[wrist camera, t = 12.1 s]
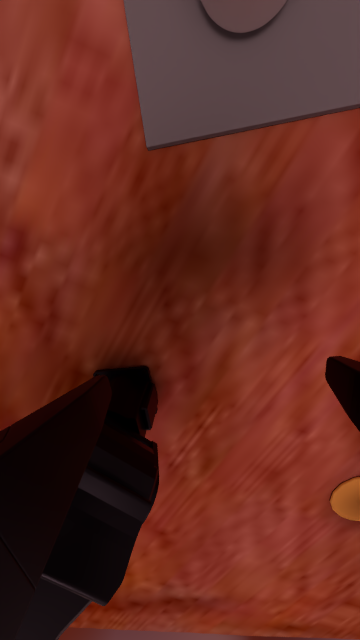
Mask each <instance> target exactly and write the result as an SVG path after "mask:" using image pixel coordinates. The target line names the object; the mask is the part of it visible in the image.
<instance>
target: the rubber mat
mask: <svg viewBox="0 0 360 640" xmlns="http://www.w3.org/2000/svg"><path fill="white" fill-rule="evenodd" d="M124 6H125V12H126V19H127V25H128V31H129V38H130V44H131V51H132V57H133V63H134V70H135V76H136V82H137V89H138V95H139V101H140V108H141V114H142V120H143V127H144V133H145V140H146V146H147V149H148V151H149V150H153V149H158V148H163V147H168V146H173V145H178V144H183V143H188V142H193V141H198V140H203V139H208V138H213V137H217V136H222V135H227V134H232V133H237V132H242V131H247V130H252V129H257V128H262V127H267V126H272V125H276V124H281V123H286V122H291V121H296V120H301V119H306V118H311V117H316V116H321V115H326V114H331V113H336V112H340V111H345V110H350V109H355V108H360V0H287V1H286V3H285V4H284V6H283V7H282V8H281V10H280V11H279V12H278V13H277V14H276V15H275V16H274V17H273V18H272V19H271V20H270V21H269V22H268V23H266V24H265V25H263V26H262V27H260V28H258V29H256V30H253V31H250V32H245V33H235V32H231V31H228V30H225V29H223V28H222V27H220V26H219V25H217V24H216V23H215V22H214V21H213V20H212V19H211V18H210V16H209V15H208V13H207V12H206V10H205V8H204V6H203V4H202V2H201V0H124Z"/></svg>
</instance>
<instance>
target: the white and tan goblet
mask: <svg viewBox="0 0 360 640" xmlns="http://www.w3.org/2000/svg"><path fill="white" fill-rule="evenodd" d="M330 503H331V507H332V509H333V510H334V511H335V512H336V513H337V514H338V515H339V516H341V517H344V518H346V519H349V520H353V521H360V477H354V478H352V479H350V480H347V481H345V482H343V483H341V484H340V485H339V486H338V487H337V488H336V489H335V490H334V491H333V493H332V495H331V498H330Z"/></svg>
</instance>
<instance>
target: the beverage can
mask: <svg viewBox="0 0 360 640" xmlns="http://www.w3.org/2000/svg"><path fill="white" fill-rule="evenodd" d="M286 1H287V0H201V2H202V4H203V6H204V8H205V10H206V12H207V13H208V15H209V16H210V18H211V19H212V20H213V21H214V22H215V23H216V24H217V25H219V26H220V27H222V28H223V29H225V30H228V31H231V32H235V33H245V32H250V31H253V30H256V29H258V28H260V27H262V26H263V25H265V24H266V23H268V22H269V21H270V20H271V19H272V18H273V17H274V16H275V15H276V14H277V13H278V12H279V11H280V10H281V8H282V7H283V6H284V4H285V3H286Z"/></svg>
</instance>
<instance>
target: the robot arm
mask: <svg viewBox="0 0 360 640" xmlns="http://www.w3.org/2000/svg"><path fill="white" fill-rule="evenodd" d="M143 370H145V371H146V372H144V371H143ZM97 374H99V375H100V376H98V375H97ZM93 376H94V378H92V379H90V380H89V381H87V382H85V383H83V384H82V385H80V386H78V387H77V388H75V389H73V390H71V391H70V392H68V393H66V394H64V395H63V396H61V397H59V398H57V399H56V400H54V401H52V402H50V403H49V404H47V405H45V406H44V407H42V408H40V409H38V410H37V411H35V412H33V413H31V414H30V415H28V416H26V417H24V418H23V419H21V420H19V421H17V422H16V423H14V424H12V425H11V426H9V427H7V428H5V429H4V430H2V431H0V640H58V639H59V637H60V635H61V634H62V633H63V632H64V631H65V630H66V629H67V628H68V627H69V626H70V624H71V623H72V622H73V621H74V620H75V619H76V618H77V617H78V616H79V615H80V614H81V613H82V612H83V611H84V609H85V608H86V607H87V606H88V605H89V604H90V603H91V602H92V601H93V602H95V603H97V604H100V605H102V606H105V605H106V604H107V603H108V602H109V601H110V600H111V598H112V597H113V595H114V594H115V592H116V591H117V589H118V588H119V587H120V585H121V583H122V581H123V579H124V576H125V572H126V569H127V566H128V563H129V559H130V556H131V553H132V550H133V547H134V544H135V541H136V538H137V536H138V533H139V531H140V528H141V526H142V524H143V523H144V521H145V520H146V518H147V516H148V514H149V513H150V511H151V508H152V506H153V504H154V501H155V498H156V494H157V491H158V485H159V467H158V450H157V443H155V442H153V441H149V440H148V439H146V438H145V434H146V430H150V429H151V428H152V425H153V421H154V417H155V414H156V413H157V404H158V398H157V393H156V388H155V384H154V383H152V381H151V376H150V372H149V368H148V367H146V366H140V367H129V368H117V369H106V370H97V371H95V373H94V374H93ZM325 377H326V381H327V383H328V384H329V386H330V388H331V389H332V391H333V392H334V394H335V396H336V397H337V399H338V401H339V402H340V404H341V405H342V407H343V409H344V410H345V412H346V413H347V415H348V416H349V418H350V419H351V421H352V422H353V423H354V425H355V426H356V427H357V429H358V430H359V431H360V362H359V361H355V360H352V359H349V358H346V357H342V356H333V357H329V358H328V359H327V362H326V373H325Z"/></svg>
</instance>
